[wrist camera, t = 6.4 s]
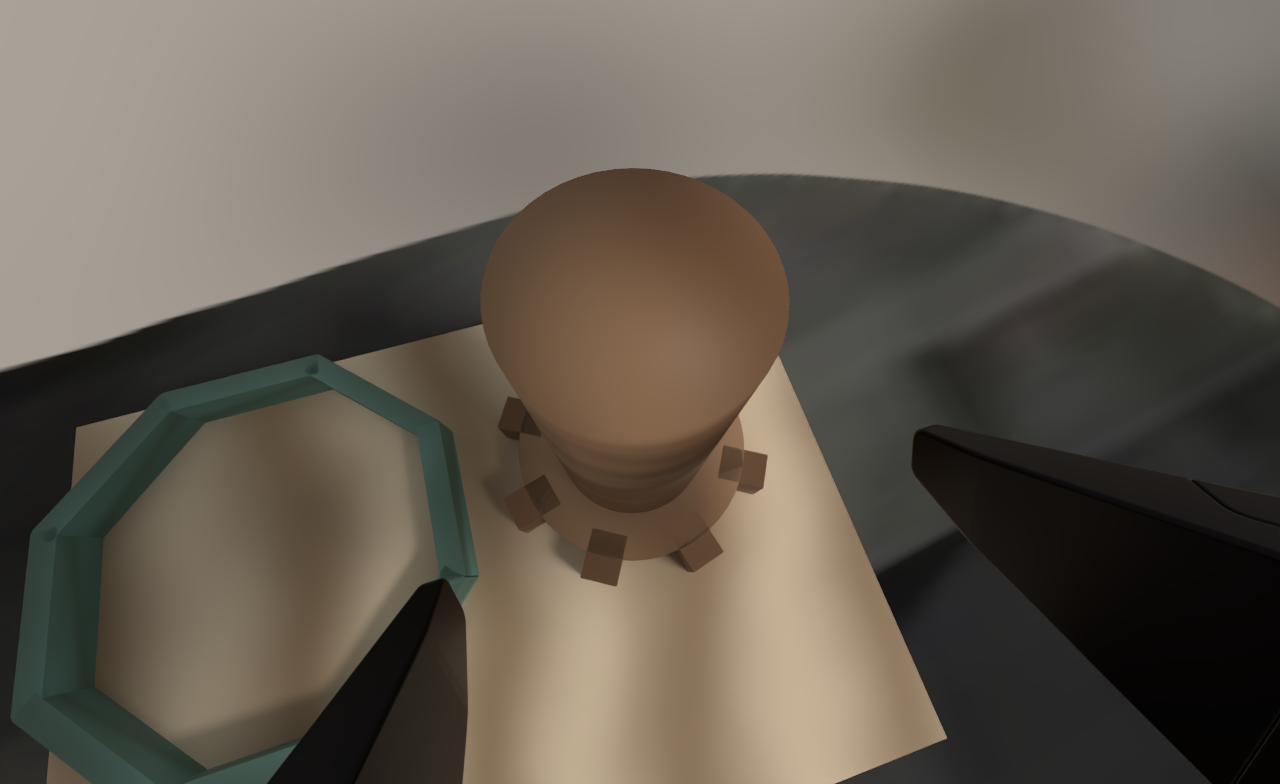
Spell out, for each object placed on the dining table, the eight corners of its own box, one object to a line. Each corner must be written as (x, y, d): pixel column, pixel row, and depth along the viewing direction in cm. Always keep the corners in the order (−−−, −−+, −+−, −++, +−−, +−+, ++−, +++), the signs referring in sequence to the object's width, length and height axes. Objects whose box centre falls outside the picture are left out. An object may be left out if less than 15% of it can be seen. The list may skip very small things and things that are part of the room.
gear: (586, 642, 16) (503, 784, 6) (463, 412, 19) (247, 207, 8) (807, 490, 18) (1063, 378, 8) (667, 300, 21) (709, 15, 10)
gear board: (80, 1058, 14) (-60, 1183, 11) (115, 437, 20) (30, 415, 17) (920, 724, 17) (978, 754, 14) (729, 278, 23) (743, 238, 20)
